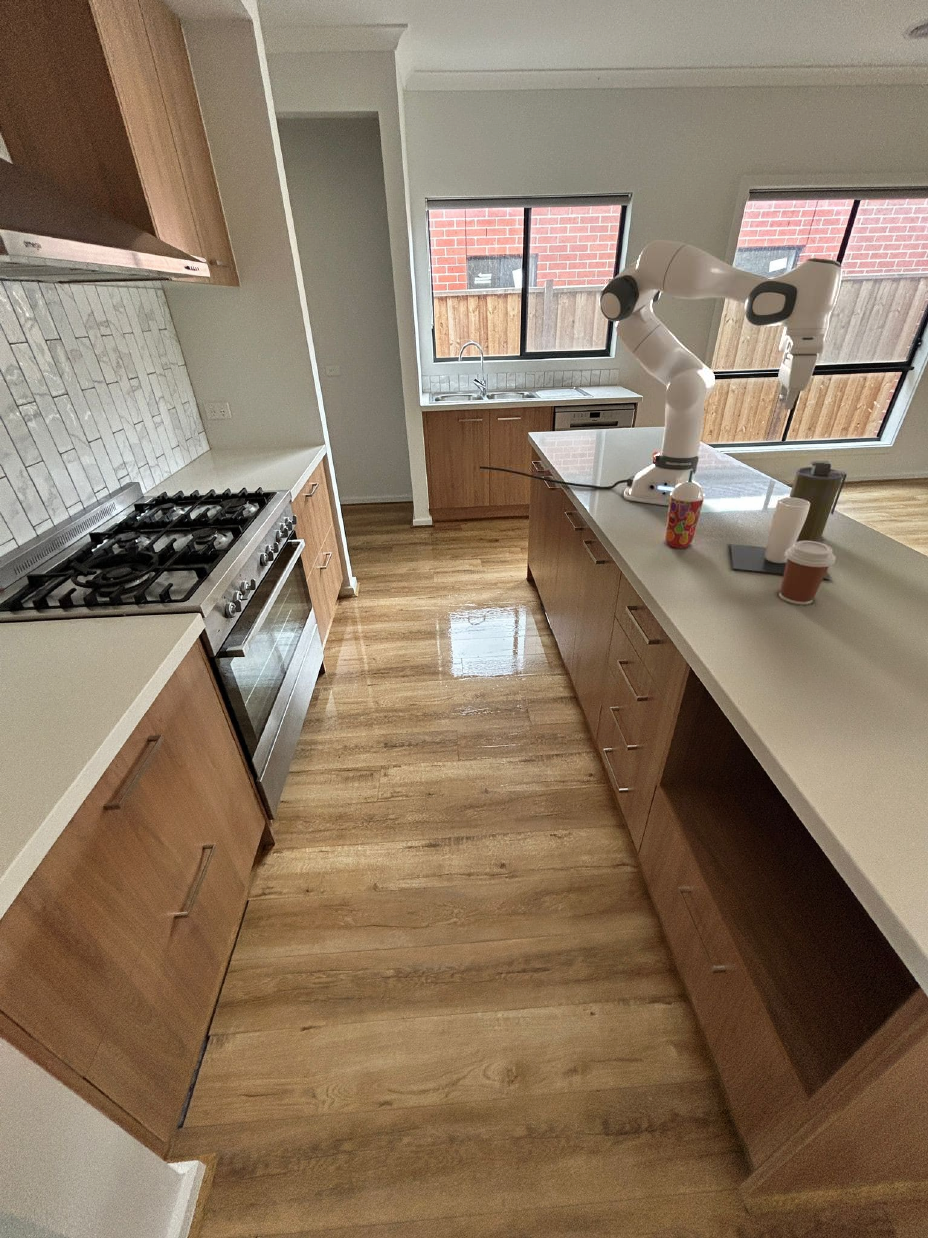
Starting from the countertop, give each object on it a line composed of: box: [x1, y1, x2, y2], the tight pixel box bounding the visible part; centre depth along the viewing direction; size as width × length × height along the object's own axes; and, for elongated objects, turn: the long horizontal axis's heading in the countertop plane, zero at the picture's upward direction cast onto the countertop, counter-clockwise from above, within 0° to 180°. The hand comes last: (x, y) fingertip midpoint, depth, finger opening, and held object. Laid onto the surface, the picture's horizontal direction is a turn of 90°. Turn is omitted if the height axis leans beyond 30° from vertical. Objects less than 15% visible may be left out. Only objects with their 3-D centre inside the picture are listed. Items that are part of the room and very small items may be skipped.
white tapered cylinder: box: [765, 496, 810, 564], centre depth 123 cm, size 7×7×15 cm
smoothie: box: [664, 470, 706, 549], centre depth 133 cm, size 8×8×20 cm
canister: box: [788, 460, 848, 542], centre depth 134 cm, size 11×10×20 cm
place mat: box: [729, 543, 830, 581], centre depth 127 cm, size 20×15×1 cm
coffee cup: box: [778, 541, 837, 605], centre depth 109 cm, size 9×9×12 cm
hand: (784, 405), depth 127 cm, fingers open, 8 cm apart
